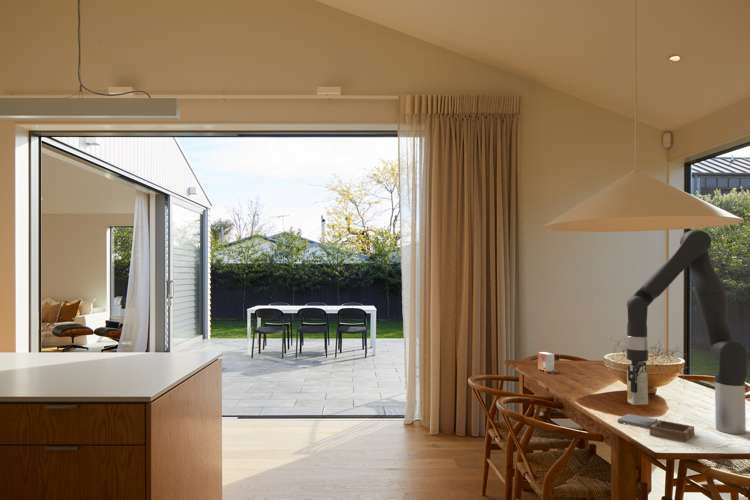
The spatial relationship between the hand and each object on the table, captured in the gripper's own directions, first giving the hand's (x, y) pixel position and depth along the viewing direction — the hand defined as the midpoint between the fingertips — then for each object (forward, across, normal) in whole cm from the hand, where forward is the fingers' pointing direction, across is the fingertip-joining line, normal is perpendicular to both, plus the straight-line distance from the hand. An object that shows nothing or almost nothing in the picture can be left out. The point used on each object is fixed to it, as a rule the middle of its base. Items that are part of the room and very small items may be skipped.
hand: (637, 390), depth 207 cm
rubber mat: (+12, 0, 0) cm, 12 cm away
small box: (+12, +72, +72) cm, 103 cm away
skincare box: (+5, 0, 0) cm, 5 cm away
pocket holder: (+12, -8, -14) cm, 20 cm away
